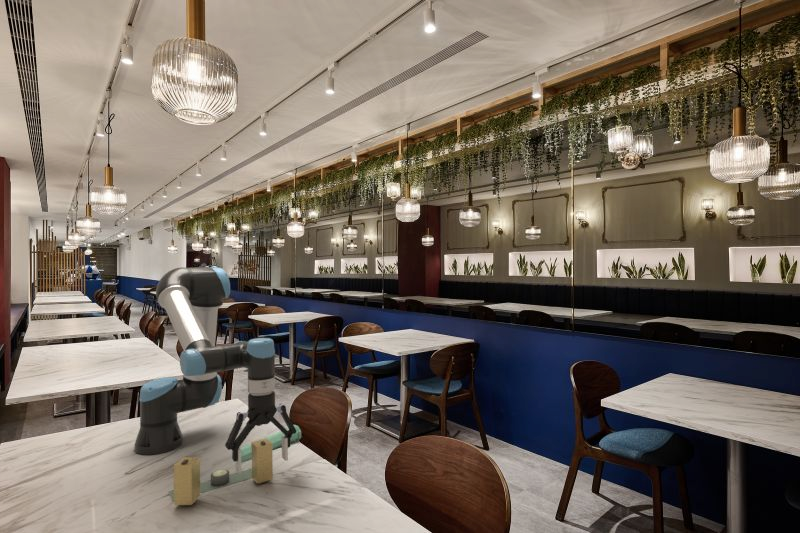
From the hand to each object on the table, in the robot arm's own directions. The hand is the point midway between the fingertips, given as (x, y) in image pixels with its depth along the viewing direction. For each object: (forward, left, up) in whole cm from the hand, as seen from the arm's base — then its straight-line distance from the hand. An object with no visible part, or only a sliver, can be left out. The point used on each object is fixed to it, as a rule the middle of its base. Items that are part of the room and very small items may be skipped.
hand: (262, 465), depth 128 cm
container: (-23, +10, -7) cm, 26 cm away
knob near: (0, -20, -5) cm, 21 cm away
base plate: (-5, -10, -6) cm, 13 cm away
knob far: (0, 0, -5) cm, 5 cm away
